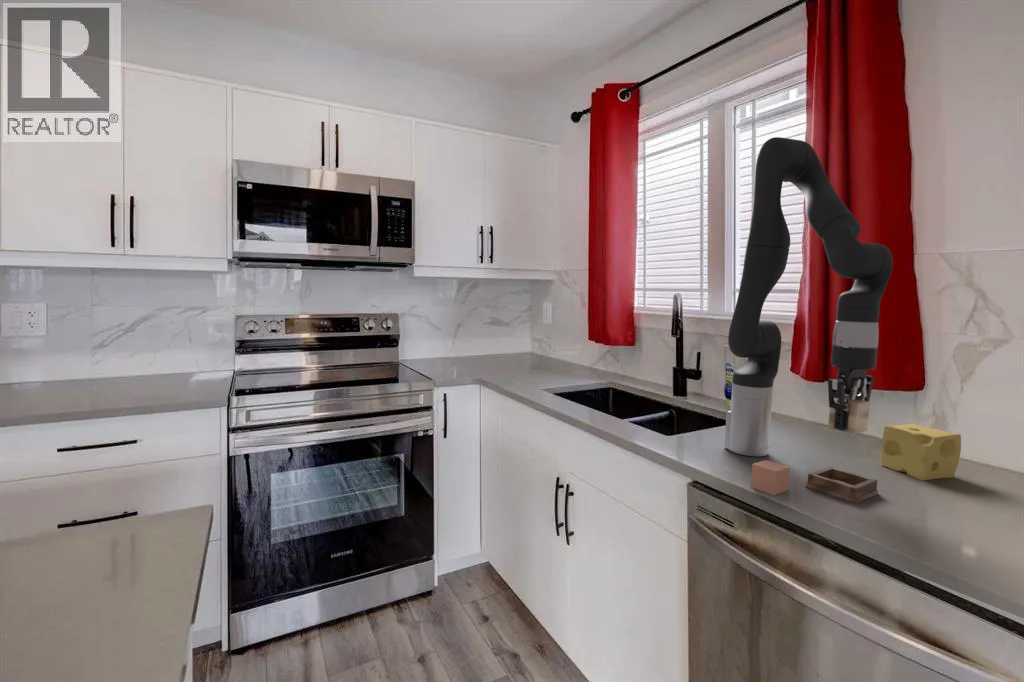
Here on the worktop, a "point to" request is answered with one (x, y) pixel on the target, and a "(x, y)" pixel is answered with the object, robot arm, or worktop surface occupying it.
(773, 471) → the top block
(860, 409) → the base block
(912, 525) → the worktop surface
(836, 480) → the socket board
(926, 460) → the cheese
